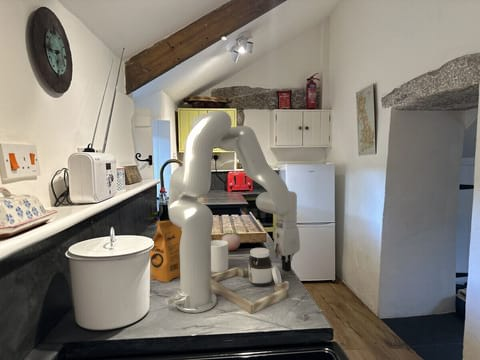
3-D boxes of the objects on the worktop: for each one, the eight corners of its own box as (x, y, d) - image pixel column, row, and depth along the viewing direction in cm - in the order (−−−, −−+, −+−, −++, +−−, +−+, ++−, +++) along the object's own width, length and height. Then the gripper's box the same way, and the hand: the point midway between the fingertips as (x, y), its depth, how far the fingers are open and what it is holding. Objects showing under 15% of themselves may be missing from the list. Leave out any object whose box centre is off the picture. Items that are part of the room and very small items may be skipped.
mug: (235, 263, 122) (234, 239, 121) (222, 274, 111) (222, 247, 110) (217, 261, 125) (216, 237, 125) (203, 271, 114) (202, 244, 113)
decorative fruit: (223, 254, 133) (223, 233, 132) (220, 249, 141) (220, 229, 140) (243, 253, 135) (242, 232, 135) (239, 247, 143) (238, 228, 143)
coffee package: (146, 279, 107) (144, 221, 105) (169, 267, 118) (167, 215, 116) (166, 284, 103) (164, 224, 101) (188, 272, 113) (187, 217, 112)
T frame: (250, 314, 83) (250, 305, 83) (204, 284, 103) (204, 277, 102) (296, 292, 96) (296, 285, 95) (247, 269, 115) (247, 263, 115)
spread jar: (246, 277, 108) (246, 247, 107) (275, 274, 111) (275, 245, 110) (254, 292, 97) (254, 258, 96) (286, 288, 99) (286, 255, 98)
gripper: (280, 228, 102) (280, 279, 103) (307, 222, 111) (306, 268, 113) (265, 225, 108) (265, 272, 109) (292, 219, 117) (291, 263, 119)
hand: (286, 270), depth 111 cm, fingers closed
